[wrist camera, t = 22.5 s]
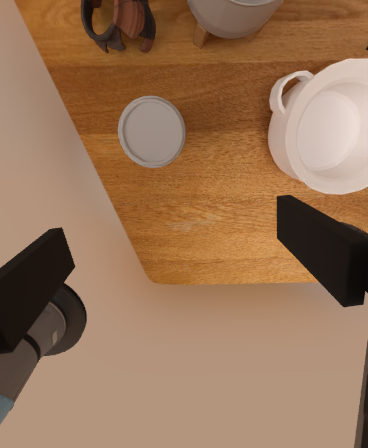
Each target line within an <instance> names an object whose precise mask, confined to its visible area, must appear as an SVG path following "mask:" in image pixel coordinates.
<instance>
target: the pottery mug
mask: <svg viewBox="0 0 368 448" xmlns="http://www.w3.org/2000/svg"><path fill="white" fill-rule="evenodd" d="M101 2H102V0H82V1H81V18H82V22H83V25H84V28H85V31H86V33H87V34H88V35H89V37H90V38H91V39H93V40H94V41H95V43H96V44H97V45H98V46H99V47H100V48H101V49H102V50H103V51H105V52H106V53H109V52H108V50H107V45H108V46H109V47H110V48H112V49H117V50H118V51H123V50H125V49H126V47H125V45H124V44H123V43H122V38H121V31H120V30H122V31H123V32H124V33H125V34H126V35H128V36H129V38H130V39H137V37H138V36H139V35H140V36H143V37H145V39H144V41H143V43H142V45H141V46H140V50H141V51H142V52H146V53H147V52H148V51H149V50H150V48H151V46H152V44H153V41H154V38H155V33H156V25H155V20H154V17H153V14H152V12H151V10H150V8H149V5H148V3H147V2H148V0H139V1H137V0H114V13H113V19H112V23H111V25H110V26H109V28H108V30H107V31H106V32H104V33H103V34H101V35H97V34H95V33H94V31H93V27H92V14H93V9H94V8H99V7H100V6H101Z"/></svg>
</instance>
